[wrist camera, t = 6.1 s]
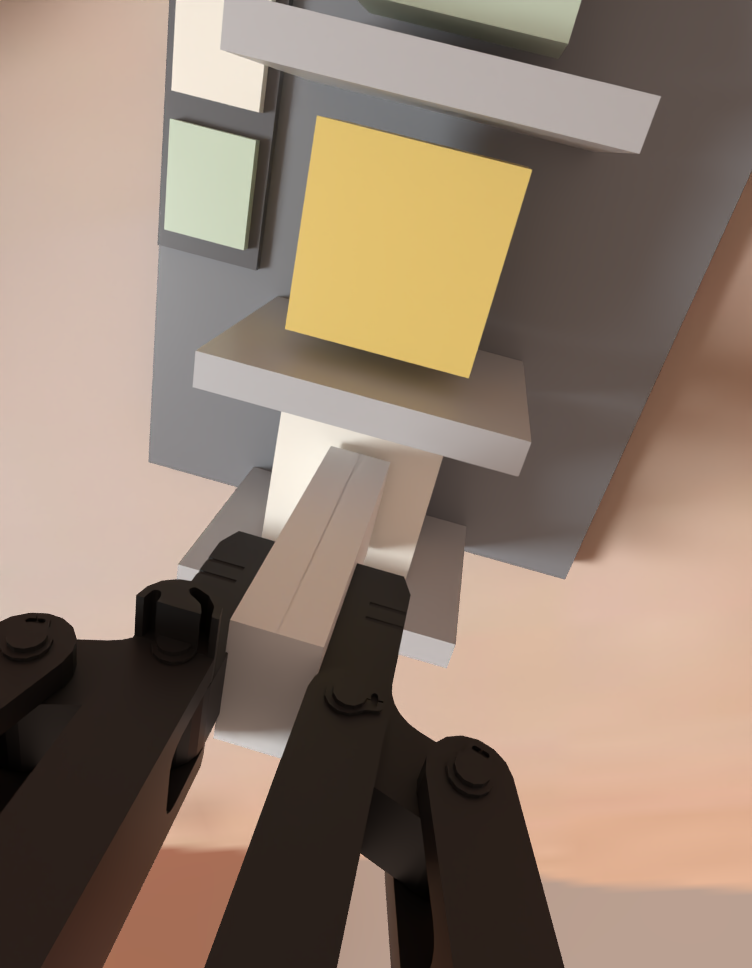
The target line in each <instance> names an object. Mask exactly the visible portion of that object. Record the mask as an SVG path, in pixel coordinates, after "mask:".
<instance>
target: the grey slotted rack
mask: <svg viewBox="0 0 752 968" xmlns="http://www.w3.org/2000/svg"><path fill="white" fill-rule="evenodd" d="M317 116H323V117H329V118H334V119H340V120H345V121H349V122H353V123H357V124H361V125H365V126H369V127H373V128H377V129H380V130H384V131H388V132H392V133H396V134H400V135H404V136H408V137H412V138H416V139H420V140H424V141H428V142H432V143H436V144H440V145H444V146H448V147H452V148H456V149H460V150H464V151H468V152H472V153H476V154H480V155H484V156H488V157H492V158H496V159H499V160H503V161H507V162H511V163H515V164H519V165H523V166H527V167H529V168H530V169H532V173H531V176H530V179H529V182H528V186H527V189H526V192H525V195H524V199H523V202H522V205H521V209H520V212H519V215H518V218H517V222H516V225H515V228H514V232H513V235H512V238H511V241H510V245H509V248H508V251H507V255H506V258H505V261H504V264H503V268H502V271H501V274H500V278H499V281H498V284H497V287H496V291H495V294H494V297H493V300H492V304H491V307H490V310H489V314H488V317H487V320H486V323H485V327H484V330H483V333H482V337H481V340H480V343H479V346H478V350H477V353H476V356H475V360H474V363H473V366H472V369H471V373H470V376H469V378H465V377H461V376H458V375H454V374H450V373H447V372H443V371H439V370H435V369H432V368H428V367H424V366H421V365H417V364H413V363H409V362H406V361H402V360H398V359H395V358H391V357H387V356H383V355H380V354H376V353H372V352H369V351H365V350H361V349H357V348H354V347H350V346H346V345H342V344H339V343H335V342H331V341H328V340H324V339H320V338H316V337H313V336H309V335H305V334H302V333H298V332H294V331H290V330H287V329H285V325H286V318H287V312H288V305H289V298H290V292H291V285H292V278H293V272H294V265H295V258H296V252H297V245H298V238H299V232H300V225H301V218H302V212H303V205H304V198H305V192H306V185H307V178H308V172H309V165H310V158H311V152H312V145H313V138H314V132H315V125H316V118H317ZM751 172H752V0H581V3H580V7H579V10H578V13H577V16H576V20H575V23H574V26H573V30H572V33H571V36H570V40H569V43H568V45H567V47H566V48H565V50H564V51H563V53H562V54H561V56H560V57H559V59H556V58H552V57H548V56H544V55H539V54H535V53H531V52H527V51H523V50H519V49H515V48H511V47H507V46H503V45H498V44H494V43H490V42H486V41H482V40H478V39H474V38H470V37H466V36H461V35H457V34H453V33H449V32H445V31H441V30H437V29H433V28H429V27H424V26H420V25H416V24H412V23H408V22H404V21H400V20H396V19H392V18H388V17H383V16H379V15H375V14H371V13H369V12H368V11H367V10H366V9H365V8H364V7H363V6H362V5H361V4H360V2H359V1H358V0H169V18H168V39H167V60H166V81H165V102H164V123H163V144H162V165H161V186H160V207H159V228H158V245H159V259H158V280H157V300H156V320H155V341H154V361H153V382H152V402H151V423H150V443H149V462H150V463H154V464H157V465H161V466H164V467H168V468H171V469H175V470H179V471H182V472H186V473H189V474H193V475H196V476H200V477H203V478H207V479H210V480H214V481H218V482H221V483H225V484H228V485H232V486H235V487H238V488H237V489H236V490H235V492H234V493H233V494H232V495H231V497H230V498H229V499H228V501H227V502H226V503H225V504H224V506H223V507H222V508H221V510H220V511H219V512H218V513H217V515H216V516H215V517H214V519H213V520H212V521H211V523H210V524H209V525H208V526H207V528H206V529H205V530H204V532H203V533H202V534H201V535H200V537H199V538H198V539H197V541H196V542H195V543H194V544H193V546H192V547H191V548H190V550H189V551H188V552H187V553H186V555H185V556H184V557H183V559H182V560H181V561H180V563H179V564H178V571H177V579H182V580H188V581H192V579H193V578H194V577H195V575H196V574H197V573H199V570H200V568H201V567H202V565H203V564H204V563H205V561H206V560H208V558H209V556H210V554H211V553H212V552H213V550H214V549H215V547H216V546H217V545H218V543H219V542H220V541H222V540H223V539H225V538H227V537H229V536H231V535H233V534H234V533H236V532H238V531H241V532H245V533H248V534H252V535H255V536H258V537H262V532H263V525H264V519H265V512H266V506H267V500H268V493H269V487H270V481H271V474H272V468H273V462H274V455H275V449H276V442H277V436H278V430H279V423H280V417H281V411H282V412H285V413H289V414H292V415H296V416H300V417H303V418H307V419H311V420H314V421H318V422H322V423H325V424H329V425H332V426H336V427H340V428H343V429H347V430H351V431H354V432H358V433H361V434H365V435H369V436H372V437H376V438H380V439H383V440H387V441H391V442H394V443H398V444H401V445H405V446H409V447H412V448H416V449H420V450H423V451H427V452H430V453H434V454H438V455H441V456H443V459H442V462H441V465H440V469H439V472H438V475H437V478H436V482H435V485H434V488H433V492H432V495H431V498H430V502H429V505H428V508H427V511H426V515H425V518H424V521H423V525H422V528H421V531H420V534H419V538H418V541H417V544H416V548H415V551H414V554H413V558H412V561H411V564H410V567H409V571H408V574H407V577H406V579H405V581H406V583H407V586H408V589H409V592H410V594H411V596H410V601H409V606H408V610H407V615H406V620H405V625H404V629H403V635H402V639H401V644H400V649H399V655H402V656H406V657H409V658H413V659H416V660H420V661H423V662H427V663H430V664H433V665H437V666H440V667H444V668H447V666H448V663H449V661H450V658H451V655H452V653H453V650H454V647H455V645H456V634H457V623H458V612H459V601H460V590H461V579H462V568H463V557H464V551H466V552H469V553H473V554H476V555H480V556H484V557H487V558H491V559H494V560H498V561H501V562H505V563H508V564H512V565H515V566H519V567H523V568H526V569H530V570H533V571H537V572H540V573H544V574H547V575H551V576H554V577H558V578H562V579H565V578H566V576H567V574H568V572H569V570H570V567H571V565H572V563H573V561H574V559H575V557H576V554H577V552H578V550H579V548H580V546H581V543H582V541H583V539H584V537H585V535H586V532H587V530H588V528H589V526H590V524H591V522H592V519H593V517H594V515H595V513H596V511H597V508H598V506H599V504H600V502H601V500H602V497H603V495H604V493H605V491H606V489H607V487H608V484H609V482H610V480H611V478H612V476H613V473H614V471H615V469H616V467H617V465H618V462H619V460H620V458H621V456H622V454H623V452H624V449H625V447H626V445H627V443H628V441H629V438H630V436H631V434H632V432H633V430H634V427H635V425H636V423H637V421H638V419H639V417H640V414H641V412H642V410H643V408H644V406H645V403H646V401H647V399H648V397H649V395H650V392H651V390H652V388H653V386H654V384H655V382H656V379H657V377H658V375H659V373H660V371H661V368H662V366H663V364H664V362H665V360H666V357H667V355H668V353H669V351H670V349H671V347H672V344H673V342H674V340H675V338H676V336H677V333H678V331H679V329H680V327H681V325H682V322H683V320H684V318H685V316H686V314H687V312H688V309H689V307H690V305H691V303H692V301H693V298H694V296H695V294H696V292H697V290H698V287H699V285H700V283H701V281H702V279H703V277H704V274H705V272H706V270H707V268H708V266H709V263H710V261H711V259H712V257H713V255H714V252H715V250H716V248H717V246H718V244H719V242H720V239H721V237H722V235H723V233H724V231H725V228H726V226H727V224H728V222H729V220H730V217H731V215H732V213H733V211H734V209H735V207H736V204H737V202H738V200H739V198H740V196H741V193H742V191H743V189H744V187H745V185H746V183H747V180H748V178H749V176H750V174H751Z"/></svg>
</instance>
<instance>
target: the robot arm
mask: <svg viewBox="0 0 752 968" xmlns="http://www.w3.org/2000/svg"><path fill="white" fill-rule="evenodd" d="M389 466H390V462H388V461H384V460H380V459H377V458H373V457H370V456H366V455H363V454H359V453H355V452H352V451H348V450H345V449H341V448H337V447H334V446H331V447H330V448H329V450H328V452H327V453H326V455H325V457H324V459H323V460H322V462H321V464H320V466H319V467H318V469H317V471H316V472H315V474H314V476H313V478H312V479H311V481H310V483H309V484H308V486H307V488H306V490H305V491H304V493H303V495H302V497H301V498H300V500H299V502H298V503H297V505H296V507H295V509H294V510H293V512H292V514H291V516H290V517H289V519H288V521H287V522H286V524H285V526H284V528H283V529H282V531H281V533H280V534H279V536H278V538H277V540H276V541H272V540H269V539H265V538H262V537H258V536H255V535H252V534H248V533H245V532H241V531H238V532H236V533H234V534H233V535H231V536H229V537H227V538H225V539H223V540H222V541H220V542H219V543H218V545H217V546H216V547H215V549H214V550H213V552H212V553H211V554H210V556H209V558H208V560H206V561H205V563H204V564H203V565H202V567H201V568H200V570H199V573H197V574H196V575H195V577H194V578H193V579H192V581H188V580H182V579H175V580H165V581H160V582H158V583H155V584H152V585H150V586H147V587H146V588H145V589H143V590H142V591H141V592H140V593H138V594H137V595H136V614H135V635H134V637H133V638H129V639H124V640H110V641H106V640H77V639H76V635H75V632H74V629H73V627H72V626H71V625H70V624H69V623H68V622H66V621H65V620H64V619H63V618H60V617H57V616H54V615H51V614H46V613H27V614H22V615H17V616H12V617H9V618H7V619H5V620H3V621H1V622H0V968H102V967H103V965H104V963H105V961H106V959H107V957H108V955H109V953H110V951H111V949H112V947H113V945H114V943H115V941H116V939H117V937H118V935H119V933H120V931H121V928H122V926H123V924H124V922H125V920H126V918H127V916H128V914H129V912H130V910H131V908H132V906H133V904H134V902H135V900H136V898H137V896H138V894H139V892H140V890H141V887H142V885H143V883H144V881H145V879H146V877H147V875H148V873H149V871H150V869H151V867H152V865H153V863H154V860H155V859H156V857H157V855H158V853H159V850H160V848H161V846H162V844H163V842H164V840H165V838H166V836H167V834H168V832H169V830H170V828H171V826H172V824H173V822H174V820H175V818H176V816H177V814H178V811H179V809H180V807H181V805H182V803H183V801H184V799H185V797H186V795H187V793H188V791H189V789H190V787H191V785H192V783H193V781H194V779H195V777H196V775H197V772H198V770H199V768H200V766H201V762H202V758H203V754H204V746H205V742H206V740H207V738H208V736H209V734H210V732H211V730H212V728H213V726H214V724H215V722H216V724H215V731H214V738H215V739H218V740H222V741H225V742H228V743H231V744H235V745H238V746H241V747H244V748H248V749H251V750H254V751H258V752H261V753H264V754H268V755H271V756H274V757H277V758H281V760H280V763H279V766H278V768H277V771H276V774H275V777H274V779H273V782H272V785H271V787H270V790H269V793H268V796H267V798H266V801H265V804H264V806H263V809H262V812H261V815H260V817H259V820H258V823H257V826H256V828H255V831H254V834H253V836H252V839H251V842H250V845H249V847H248V850H247V853H246V856H245V858H244V861H243V864H242V866H241V869H240V872H239V875H238V878H237V881H236V883H235V886H234V888H233V891H232V894H231V896H230V899H229V902H228V905H227V907H226V910H225V913H224V915H223V918H222V921H221V924H220V927H219V929H218V932H217V934H216V937H215V940H214V943H213V945H212V948H211V951H210V954H209V956H208V959H207V962H206V964H205V967H204V968H337V964H338V959H339V954H340V949H341V944H342V940H343V935H344V930H345V925H346V919H347V915H348V910H349V905H350V900H351V896H352V891H353V886H354V881H355V876H356V871H357V866H358V862H359V857H360V853H361V854H362V855H364V856H365V857H366V858H368V859H369V860H370V861H372V862H373V863H375V864H376V865H377V866H379V867H380V868H381V869H383V870H384V871H385V886H386V900H387V914H388V930H389V944H390V959H391V968H564V964H563V961H562V957H561V953H560V949H559V946H558V942H557V939H556V935H555V931H554V928H553V923H552V920H551V916H550V912H549V909H548V905H547V901H546V897H545V894H544V890H543V886H542V883H541V879H540V875H539V872H538V868H537V864H536V860H535V857H534V853H533V849H532V846H531V842H530V838H529V834H528V831H527V827H526V823H525V820H524V816H523V812H522V809H521V805H520V801H519V797H518V794H517V790H516V786H515V783H514V779H513V776H512V774H511V772H510V770H509V768H508V766H507V764H506V762H505V761H504V760H503V759H502V758H501V757H500V756H499V754H498V753H497V752H496V751H495V750H494V749H492V748H491V747H489V746H488V745H486V744H484V743H483V742H481V741H479V740H477V739H473V738H469V737H465V736H451V737H445V738H444V739H442V740H440V741H438V742H435V741H433V740H432V739H430V738H428V737H427V736H425V735H424V734H422V733H420V732H419V731H418V730H416V729H415V728H414V727H412V726H411V725H410V724H408V723H407V721H406V720H405V719H404V718H403V717H402V716H401V715H400V713H399V711H398V709H397V708H396V706H395V704H394V700H393V696H392V683H393V678H394V673H395V668H396V663H397V659H398V654H399V649H400V644H401V639H402V635H403V629H404V625H405V620H406V615H407V610H408V606H409V601H410V596H411V594H410V592H409V589H408V586H407V583H406V581H405V578H404V576H400V575H397V574H393V573H390V572H386V571H383V570H379V569H376V568H372V567H369V566H365V565H363V563H364V560H365V557H366V554H367V551H368V547H369V543H370V539H371V536H372V532H373V528H374V524H375V520H376V516H377V512H378V509H379V505H380V501H381V497H382V493H383V489H384V485H385V482H386V478H387V474H388V470H389Z"/></svg>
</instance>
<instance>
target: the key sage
mask: <svg viewBox="0 0 752 968" xmlns="http://www.w3.org/2000/svg"><path fill="white" fill-rule="evenodd" d="M358 1H359V2H360V4H361V5H362V6H363V7H364V8H365V9H366V10H367V11H368V12H369V13H371V14H375V15H379V16H383V17H388V18H392V19H396V20H400V21H404V22H408V23H412V24H416V25H420V26H424V27H429V28H433V29H437V30H441V31H445V32H449V33H453V34H457V35H461V36H466V37H470V38H474V39H478V40H482V41H486V42H490V43H494V44H498V45H503V46H507V47H511V48H515V49H519V50H523V51H527V52H531V53H535V54H539V55H544V56H548V57H552V58H556V59H559V57H560V56H561V54H562V53H563V51H564V50H565V48H566V47H567V45H568V43H569V40H570V36H571V33H572V30H573V26H574V23H575V20H576V16H577V13H578V10H579V7H580V3H581V0H358Z"/></svg>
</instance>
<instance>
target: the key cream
mask: <svg viewBox="0 0 752 968" xmlns="http://www.w3.org/2000/svg"><path fill="white" fill-rule="evenodd" d="M331 446H334V447H337V448H341V449H345V450H348V451H352V452H355V453H359V454H363V455H366V456H370V457H373V458H377V459H380V460H384V461H388V462H390V466H389V470H388V474H387V478H386V482H385V485H384V489H383V493H382V497H381V501H380V505H379V509H378V512H377V516H376V520H375V524H374V528H373V532H372V536H371V539H370V543H369V547H368V551H367V554H366V557H365V560H364V563H363V565H365V566H369V567H372V568H376V569H379V570H383V571H386V572H390V573H393V574H397V575H400V576H404V578H405V579H406V577H407V574H408V571H409V567H410V564H411V561H412V558H413V554H414V551H415V548H416V544H417V541H418V538H419V534H420V531H421V528H422V525H423V521H424V518H425V515H426V511H427V508H428V505H429V502H430V498H431V495H432V492H433V488H434V485H435V482H436V478H437V475H438V472H439V469H440V465H441V462H442V459H443V456H441V455H438V454H434V453H430V452H427V451H423V450H420V449H416V448H412V447H409V446H405V445H401V444H398V443H394V442H391V441H387V440H383V439H380V438H376V437H372V436H369V435H365V434H361V433H358V432H354V431H351V430H347V429H343V428H340V427H336V426H332V425H329V424H325V423H322V422H318V421H314V420H311V419H307V418H303V417H300V416H296V415H292V414H289V413H285V412H282V411H281V417H280V423H279V430H278V436H277V442H276V449H275V455H274V462H273V468H272V474H271V481H270V487H269V493H268V500H267V506H266V512H265V519H264V525H263V532H262V538H265V539H269V540H272V541H276V540H277V538H278V536H279V534H280V533H281V531H282V529H283V528H284V526H285V524H286V522H287V521H288V519H289V517H290V516H291V514H292V512H293V510H294V509H295V507H296V505H297V503H298V502H299V500H300V498H301V497H302V495H303V493H304V491H305V490H306V488H307V486H308V484H309V483H310V481H311V479H312V478H313V476H314V474H315V472H316V471H317V469H318V467H319V466H320V464H321V462H322V460H323V459H324V457H325V455H326V453H327V452H328V450H329V448H330V447H331Z"/></svg>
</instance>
